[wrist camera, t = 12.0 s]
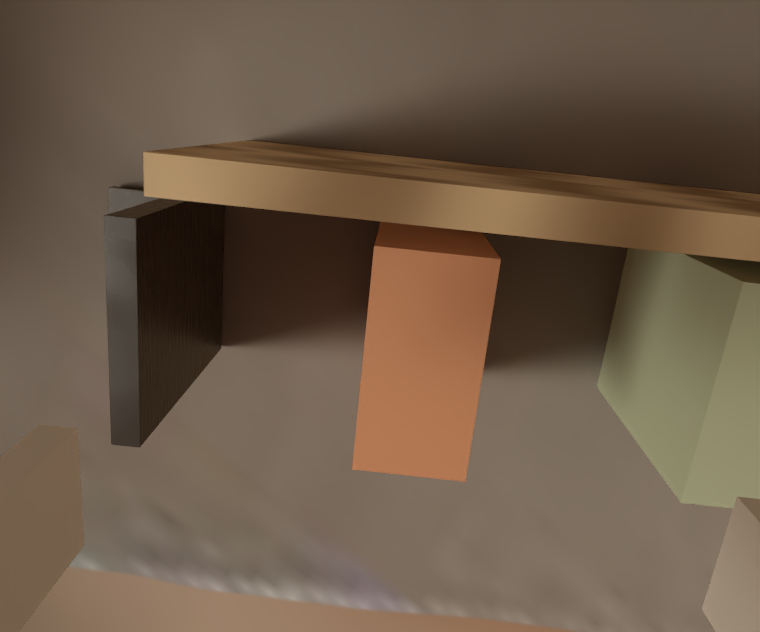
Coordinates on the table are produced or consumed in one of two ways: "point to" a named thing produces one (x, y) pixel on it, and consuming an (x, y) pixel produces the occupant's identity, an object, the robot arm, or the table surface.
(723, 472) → the book green
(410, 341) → the book rust
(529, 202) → the shelf
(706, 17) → the table surface
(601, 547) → the table surface
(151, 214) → the bookend
